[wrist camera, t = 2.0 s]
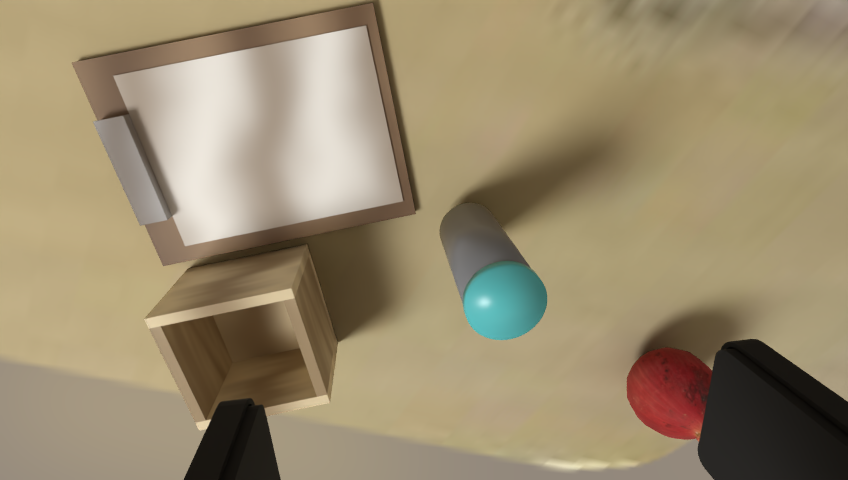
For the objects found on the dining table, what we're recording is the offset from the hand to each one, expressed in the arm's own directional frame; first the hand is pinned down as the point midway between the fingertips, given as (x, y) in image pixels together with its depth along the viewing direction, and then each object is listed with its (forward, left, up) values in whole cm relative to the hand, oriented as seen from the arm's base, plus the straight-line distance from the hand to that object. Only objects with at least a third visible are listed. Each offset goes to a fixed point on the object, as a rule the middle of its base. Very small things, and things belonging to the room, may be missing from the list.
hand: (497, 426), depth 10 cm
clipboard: (+9, -4, -21) cm, 23 cm away
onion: (-14, +18, -21) cm, 31 cm away
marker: (-2, +4, -21) cm, 21 cm away
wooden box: (+12, +7, -21) cm, 25 cm away
